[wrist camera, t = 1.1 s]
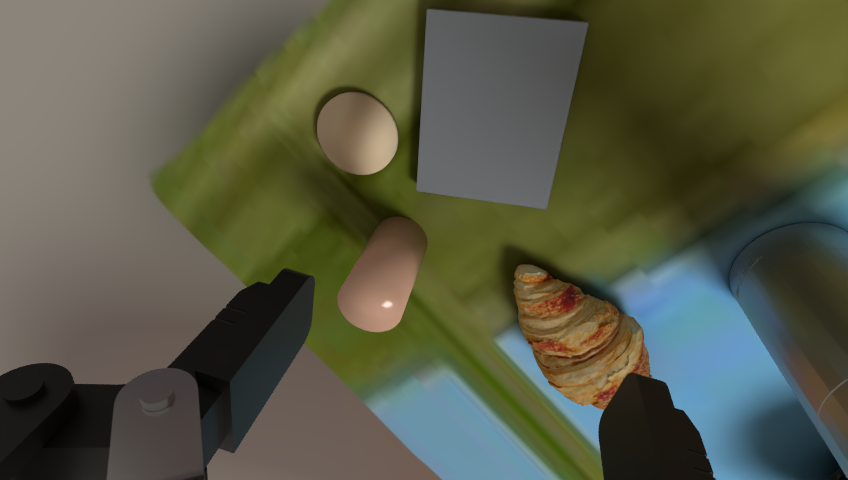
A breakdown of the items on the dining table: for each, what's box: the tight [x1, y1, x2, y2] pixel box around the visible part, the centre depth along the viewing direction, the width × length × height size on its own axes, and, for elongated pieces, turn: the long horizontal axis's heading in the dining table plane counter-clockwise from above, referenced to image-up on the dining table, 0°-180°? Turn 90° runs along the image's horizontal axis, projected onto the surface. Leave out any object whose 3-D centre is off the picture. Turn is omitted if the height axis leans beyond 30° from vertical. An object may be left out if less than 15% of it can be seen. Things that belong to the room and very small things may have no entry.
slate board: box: [417, 8, 589, 209], centre depth 35 cm, size 11×14×1 cm
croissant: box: [513, 264, 652, 409], centre depth 43 cm, size 21×10×8 cm, turn 43°
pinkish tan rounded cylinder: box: [338, 216, 427, 332], centre depth 39 cm, size 5×5×10 cm
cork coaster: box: [317, 92, 399, 175], centre depth 39 cm, size 7×7×1 cm
